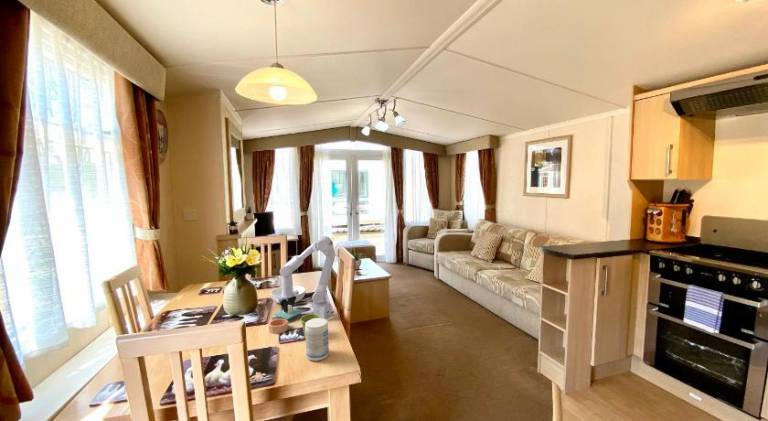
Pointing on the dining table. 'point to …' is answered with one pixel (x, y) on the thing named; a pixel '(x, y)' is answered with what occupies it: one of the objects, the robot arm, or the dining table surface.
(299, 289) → the serving bowl
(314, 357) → the supplement tub
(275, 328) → the bowl
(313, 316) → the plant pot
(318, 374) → the dining table surface
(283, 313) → the cover sheet
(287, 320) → the mat
